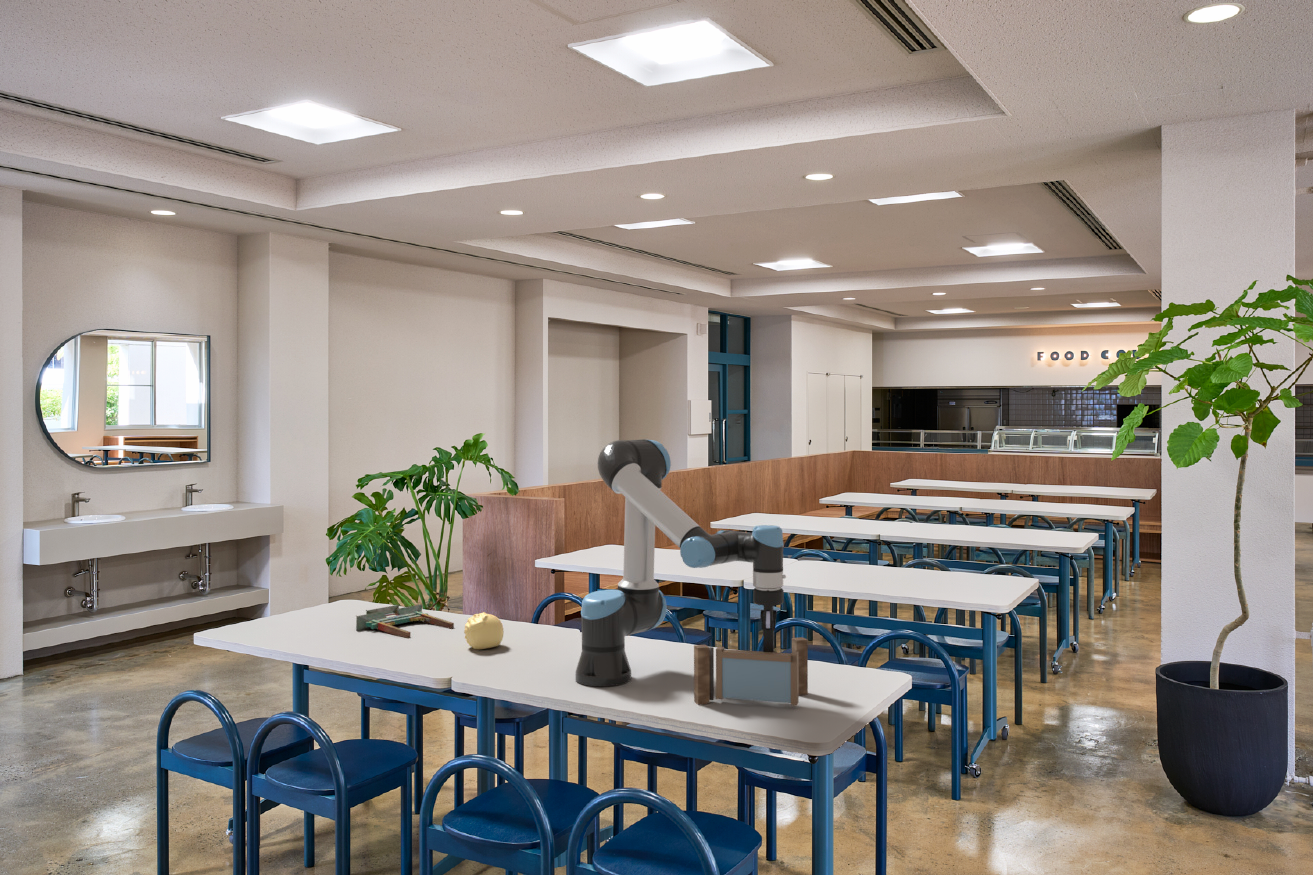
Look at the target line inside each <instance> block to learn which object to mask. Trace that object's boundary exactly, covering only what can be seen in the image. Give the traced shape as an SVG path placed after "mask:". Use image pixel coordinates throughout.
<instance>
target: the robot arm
mask: <svg viewBox="0 0 1313 875" xmlns="http://www.w3.org/2000/svg"><path fill="white" fill-rule="evenodd" d="M671 463H672V462H671V456H670V454H669V452H668V450H667V448H665V446H664V445H663V444H662V443H661V442H660V441H657V440H653V439H646V438H645V439H643V438H642V439H629V440H628V439H627V440H626V439H625V440H624V439H619V440H614V441H611V442H609V443H607V444H606V445H605V446H604V447H603V448H602V450H600V452H599V455H598V457H597V470H598V473H599V475H600V478H601V479H602V481H603V482H604V483H605V485H606V486H607V487H608V489H609V488H610V490H611V491H613V492H614V494H618V495H620V494H621V495H622V496H624V499H625V500H624V502H625V503H624V531H623V532H624V537H623V539H624V540H623V541H624V542H623V543H624V544H623V573H622V574H623V577H622V579H621V580H620V581H618V583H617V589H603V590H601V589H600V590H597V591H596V590H595V591H592V592H589V593H588V594H586V595H585V596H584V597H583V599H582V601H581V609H580V615H581V618H580V620H581V653H580V656H579V659H578V662H577V666H576V669H575V682H577V683H578V684H581V685H584V686H590V687H612V686H613V687H614V686H620V685H624V684H626V683H629V682H630V681H631V680H632V669H631V666H630V662H629V660H628V657H627V653H626V650H625V649H626V648H625V646H626V645H625V644H626V642H625V640H626V639H625V637H627V636H631V635H634V634H635V635H636V634H638V633H645V632H649V631H651V630H652V629H653V630H654V629H656V628H657V627H658V626H660V625H661V624H662V623H663V621H664V620H665V617H666V615H667V608H668V607H667V606H668V605H667V600H666V597H664V593H663V592H662V591H661V590H660V584H659V583H658V582H657V581H656V579H655V546H656V544H655V543H656V542H655V541H656V538H655V537H656V528H658V529H659V530H660V531H661V532H662V533H663V534H664V535H665V536H666V537H667V538H668V539H669V540H671V542H673V543H674V545H676V546H677V547H678V548H679V549H680V550H679V551H680V552H679V553H680V557H681V558H682V559H681V560H682V561H683V563H684V564H685V566H686V567H689V568H692V569H697V568H698V569H700V568H702V569H703V568H708V567H712V566H715V565H716V566H717V565H722V564H726V563H732V562H744V563H745V562H747V563H752V586H753V587H754V589H753V591H752V592H753V594H752V596H753V599H752V602H753V604H755V605H757V606H763V609H761V610H760V620H761V630H762V632H763V633H762V634H763V636H762V637H763V640H762V642H763V643H762V644H763V646H762V648H763V652H775V653H778V652H777V651H775V630H776V624H777V621H776V620H777V612H778V611H777V609H774V606H781V605H783V604H784V589H783V587H784V579H786V578H787V576H786V574H784V546H785V545H784V544H785V543H784V536H783V534H784V533H783V528H781V526H779V525H769V524H768V525H766V524H760V525H755V526H754V527H753V528H752V532H745V531H738V530H737V531H736V530H733V529H727V530H718V531H716V533H715V534H714V533H713V534H710V533H708V532H707V531H706V530H705V529H704V528H702V527H701V526H700V525H699V524H698V523H697V522H696V521H695V520H693V518H691V517H690V516H689V515H688V514H687V513H686V512H685V511H684V510H683V509H682V508H681V507H679V505H677V504H676V502H674V501H673V500H672V499H671V498H670V497H668V496H667V495H666V494H665V493H664V492H663V491H662V486H663V480H664V479H665V478H667V475H669V474H670V471H671V465H672V464H671Z"/></svg>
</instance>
